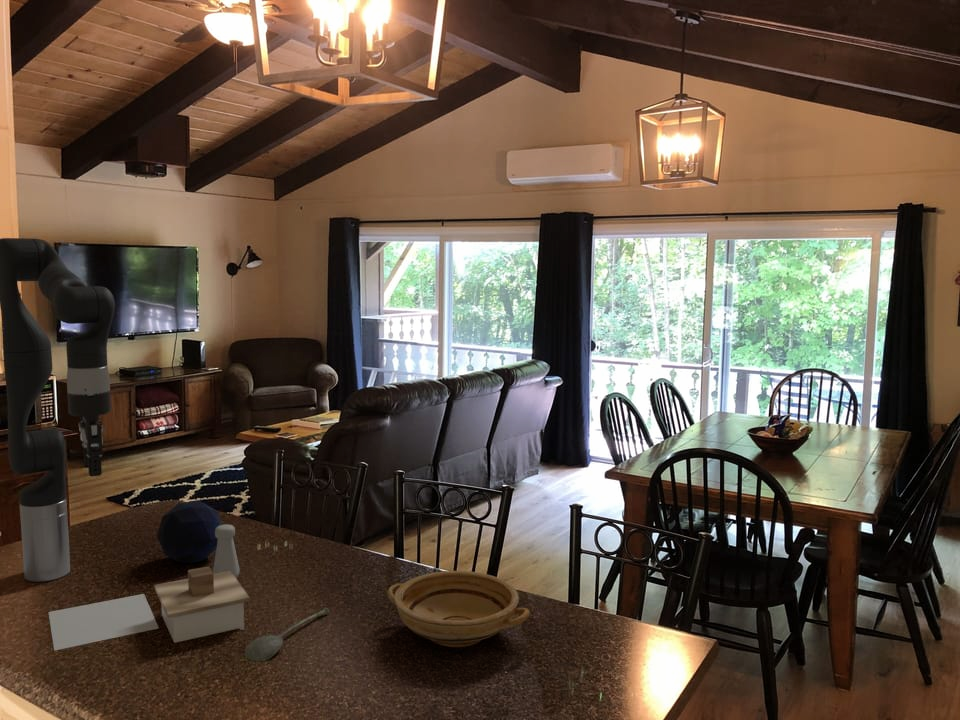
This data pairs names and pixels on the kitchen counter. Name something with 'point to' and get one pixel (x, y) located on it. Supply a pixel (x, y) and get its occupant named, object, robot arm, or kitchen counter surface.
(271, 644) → the soupspoon
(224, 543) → the salt shaker
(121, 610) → the tray
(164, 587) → the lid
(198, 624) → the white open box
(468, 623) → the ceramic bowl
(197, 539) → the decorative orb
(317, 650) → the kitchen counter surface
